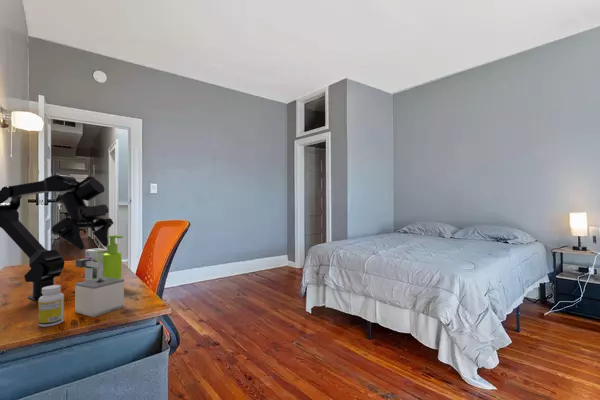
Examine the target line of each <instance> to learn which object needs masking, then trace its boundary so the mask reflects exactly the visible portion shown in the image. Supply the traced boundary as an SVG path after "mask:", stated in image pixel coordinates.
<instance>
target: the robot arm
mask: <svg viewBox="0 0 600 400" xmlns="http://www.w3.org/2000/svg"><path fill="white" fill-rule="evenodd" d="M105 191H106V189H105V186H104V184H103V183H101V182H100V181H99V180H97V179H96V178H95V177H94V176H91V175H88V176H87V177H86V178H85V179H84V180H82V181H78V180H77V179H76V178H75V177H74V176H72V175H62V174H54V175H50V176H47V177H45V178H44V179H41V180H40V181H33V182H26V183H21V184H16V185H6V186H3V187H1V188H0V228H1V229H2V230H3V231H4V232H5V233H6V234H7V236H8V237H9V238H10V239H12V241H13V242H14V243H15V244H16V245H17V247H19V249H20V250H21V251H22V252H23V253H24V254H25V255H26V256H27V257H28V259H29V260H28V263H29V264H28V265H29V268H30V269H29V271H27V273H26V274H24V275H23V277H24V280H25V282H26V283H32V295H28V297H27V298H28V299H31V300H33V301H38V300H39V298H40V297H41V296H43V294H42V288H43V287H47V286H52V285H55V278H56V277H60V276H61V274H62V272H63V269H64V268H65V260H64V256H62V255H61V254H60V253H59V252H58V250H57V249H55V248H54V249H46V248H45V247H44V246H43V245H42V244H41V243H40V241H38V240H37V238H36V237H35V236H34V235H33V234H32V233H31V232H30V231H29V230H28V229H27V227H25V225H24V224H23V223H22V222H21V221H20V213H19V211H18V210H19V208H20V207H21V206H22V205H21V203H22V202H21V199H22V198H23V197H26V196H33V195H39V194H44V193H45V194H46V193H51V192H52V193H63V194H58V195H57V196H56V198H55V199H54V202H55V203H58V204H59V203H61V204H63V206H64V208H65V211H66V213H65V214H64V216H65V217H66V218H62V219H60V221H57V222H55V224H53V225H52V227H51V232H52V234H53V235H54V236H58V237H59V238H63V239H65V240H66V241H68V242H69V243H71V244H72V245H74V246H75V247H77V248H78V249H80V250H84V249H85V244H84V242H83V240H82V237H81V235H80V229H89V228H90V229H91V230H92V231H93V235H94V236H95V237H96V239H97V240H98V241H99V243H101V245H103V246H104V247H105V248H107V245H108V244H109V242H108V241H109V240H108V238H107V236H108V230H110V229H109V228H111V227H112V226H113V225H114V222H113V219H112V218H110V217H105V216H106V215H107V214H108V213H109V207H108V205H106V204H104V203H103V204H99V205H92V206H90V205H87V204H86V202H85V201H91V200H93V199H94V198H96V197H98V196H100V195H101V194H103V193H104V192H105ZM9 198H11V200H10V202H8V203H7V202H6V201H8V200H9ZM4 202H6V203H4ZM101 216H103V217H101ZM98 217H101V218H99V219H98Z"/></svg>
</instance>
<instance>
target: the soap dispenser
mask: <svg viewBox="0 0 600 400" xmlns="http://www.w3.org/2000/svg"><path fill="white" fill-rule="evenodd" d="M123 237H124V236H122V235H117V234H115V235H107V239H109V243H108V245H107V246H106V249H107V253H106V254H103V277H111V278H118V279H122V252H119V251H118V250H119V249H118V247H119V246H118V244H117V243H116V239H123Z"/></svg>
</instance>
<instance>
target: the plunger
mask: <svg viewBox="0 0 600 400" xmlns="http://www.w3.org/2000/svg"><path fill="white" fill-rule="evenodd" d="M88 266H90V267H97V268H98V283H100V282H103V263H100V262H92V261H91V259H86V258H85V257H84V258H80V259H75V268H81V269H82V268H85V267H88Z"/></svg>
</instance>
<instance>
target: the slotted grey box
mask: <svg viewBox="0 0 600 400" xmlns="http://www.w3.org/2000/svg"><path fill="white" fill-rule="evenodd" d="M74 295H75V296H74V299H75V300H74V303H75V304H74V313H76V314H80V315H84V316H88V317H91V318H96V317H98V316H102V315H104V314H105V315H106V314H109V313H111V312H114V311H117V310H120V309H123V308H125V279H123V278H121V279H118V278H111V277H103V282H100V283H98V278H97V279H93V280H88V281H85V280H83V281H80V282H75V283H74Z"/></svg>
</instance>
